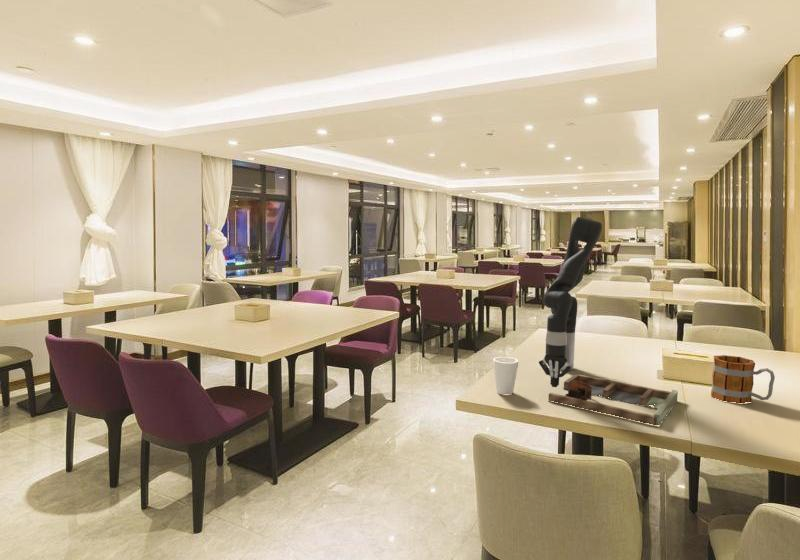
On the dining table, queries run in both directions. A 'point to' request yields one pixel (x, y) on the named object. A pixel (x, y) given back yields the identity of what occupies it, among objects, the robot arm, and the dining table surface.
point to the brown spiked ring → (579, 386)
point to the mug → (736, 379)
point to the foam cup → (505, 374)
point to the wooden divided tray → (621, 398)
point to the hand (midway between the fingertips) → (554, 386)
